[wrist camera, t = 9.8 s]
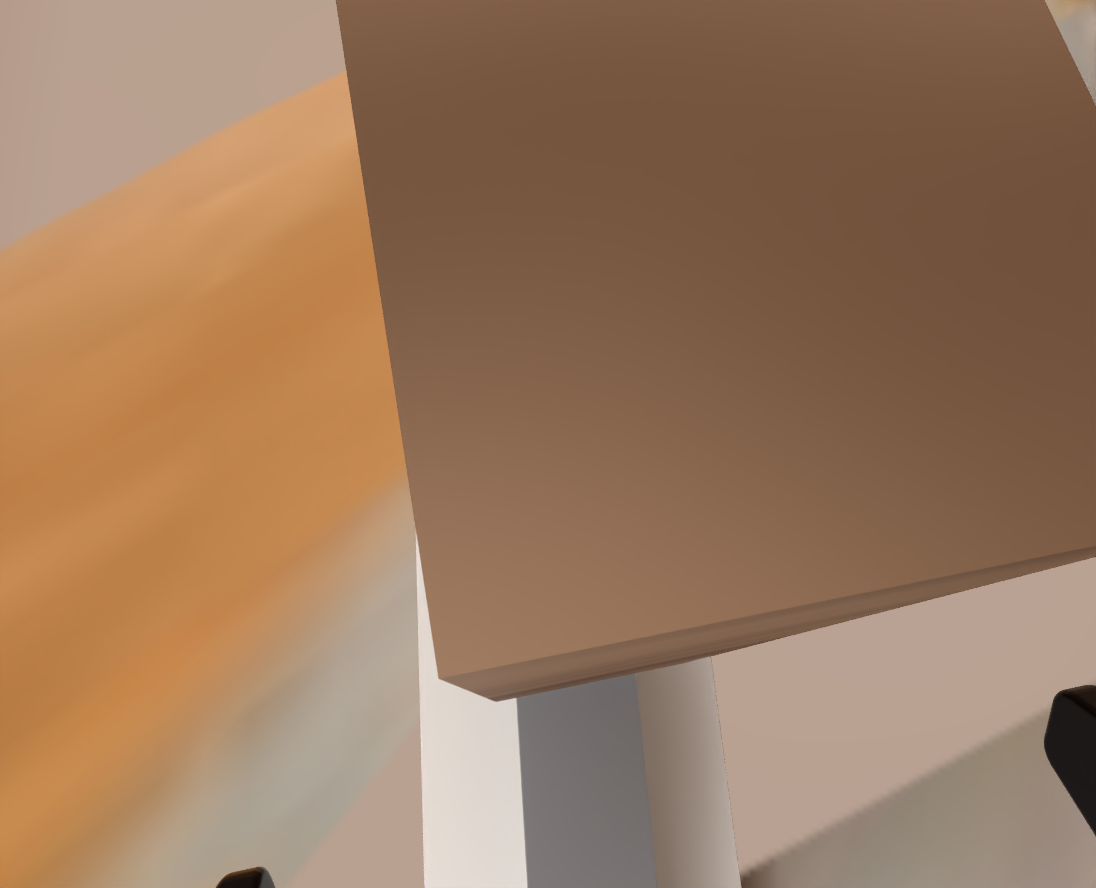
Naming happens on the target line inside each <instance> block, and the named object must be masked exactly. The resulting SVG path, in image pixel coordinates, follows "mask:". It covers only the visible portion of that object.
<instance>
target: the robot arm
mask: <svg viewBox="0 0 1096 888" xmlns="http://www.w3.org/2000/svg"><path fill="white" fill-rule="evenodd" d="M1044 748H1045V752H1046V755H1047V757H1048V760H1049V762H1050V764H1051V766H1052V767H1053V769H1054V770H1055V772H1056V774H1057V775H1058V777H1059V778H1060V780H1061V782H1062V783H1063V785H1064V786H1065V788H1066V789H1067V791H1068V793H1069V794H1070V796H1071V797H1072V799H1073V801H1074V802H1075V804H1076V805H1077V807H1078V809H1079V810H1080V812H1081V813H1082V815H1083V817H1084V818H1085V820H1086V821H1087V823H1088V825H1089V826H1090V828H1091V829H1092V831H1093V833H1094V834H1095V836H1096V686H1094V685H1084V686H1080V687H1075V688H1071V689H1066V690H1062V691H1060V692H1059V693H1057V694H1056V696H1055V697H1054V700H1053V704H1052V708H1051V712H1050V716H1049V720H1048V725H1047V729H1046V733H1045V737H1044ZM216 888H275V886H274V883H273V881H272V878H271V876H270V874H269V872H268V871H267V870H266V869H265V868H264V867H255V868H251V869H246V870H242V871H237V872H233V873H230V874H228V875H226V876H225V877H224V878H223V879H222V880H221V881H220V882H219V884H218V885H217V887H216Z"/></svg>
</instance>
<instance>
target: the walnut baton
mask: <svg viewBox="0 0 1096 888" xmlns="http://www.w3.org/2000/svg"><path fill="white" fill-rule="evenodd" d="M336 4H337V11H338V17H339V24H340V30H341V37H342V44H343V51H344V57H345V64H346V70H347V77H348V84H349V90H350V97H351V103H352V110H353V117H354V123H355V130H356V137H357V143H358V150H359V156H360V163H361V170H362V176H363V183H364V190H365V196H366V203H367V209H368V216H369V223H370V229H371V236H372V242H373V249H374V256H375V262H376V269H377V276H378V282H379V289H380V295H381V302H382V309H383V315H384V322H385V328H386V335H387V342H388V348H389V355H390V362H391V368H392V375H393V381H394V388H395V395H396V401H397V408H398V414H399V421H400V428H401V434H402V441H403V448H404V454H405V461H406V467H407V474H408V481H409V487H410V494H411V500H412V507H413V514H414V520H415V527H416V534H417V540H418V547H419V553H420V560H421V567H422V573H423V580H424V586H425V593H426V600H427V606H428V613H429V620H430V626H431V633H432V639H433V646H434V653H435V659H436V666H437V672H438V679H440V680H443V681H445V682H448V683H450V684H453V685H455V686H458V687H460V688H463V689H465V690H468V691H470V692H473V693H475V694H477V695H480V696H482V697H485V698H487V699H490V700H492V701H495V702H499V701H503V700H508V699H513V698H518V697H523V696H528V695H533V694H537V693H542V692H547V691H552V690H557V689H562V688H566V687H571V686H576V685H581V684H586V683H591V682H595V681H600V680H605V679H610V678H615V677H620V676H625V675H629V674H634V673H639V672H644V671H649V670H654V669H658V668H663V667H668V666H673V665H678V664H683V663H687V662H691V661H694V660H698V659H702V658H706V657H710V656H714V655H718V654H722V653H725V652H729V651H733V650H737V649H741V648H745V647H749V646H752V645H756V644H760V643H764V642H768V641H772V640H775V639H780V638H783V637H787V636H791V635H795V634H799V633H802V632H807V631H811V630H814V629H818V628H822V627H826V626H830V625H833V624H838V623H841V622H845V621H849V620H853V619H857V618H861V617H864V616H869V615H872V614H876V613H880V612H884V611H887V610H892V609H895V608H900V607H903V606H907V605H911V604H915V603H919V602H923V601H926V600H931V599H934V598H938V597H942V596H946V595H950V594H954V593H958V592H961V591H965V590H969V589H973V588H977V587H981V586H985V585H989V584H992V583H996V582H1000V581H1004V580H1008V579H1012V578H1016V577H1020V576H1023V575H1027V574H1031V573H1035V572H1039V571H1043V570H1047V569H1050V568H1054V567H1058V566H1062V565H1066V564H1070V563H1074V562H1077V561H1081V560H1085V559H1089V558H1093V557H1096V106H1095V103H1094V101H1093V99H1092V97H1091V95H1090V93H1089V91H1088V89H1087V87H1086V85H1085V83H1084V81H1083V79H1082V77H1081V75H1080V72H1079V70H1078V68H1077V66H1076V64H1075V62H1074V60H1073V58H1072V56H1071V54H1070V52H1069V50H1068V48H1067V46H1066V44H1065V42H1064V39H1063V37H1062V35H1061V33H1060V31H1059V29H1058V27H1057V25H1056V23H1055V21H1054V19H1053V17H1052V15H1051V13H1050V11H1049V9H1048V6H1047V4H1046V2H1045V0H336Z"/></svg>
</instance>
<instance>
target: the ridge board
mask: <svg viewBox="0 0 1096 888" xmlns="http://www.w3.org/2000/svg"><path fill="white" fill-rule="evenodd" d="M416 558H417V599H418V641H419V682H420V724H421V765H422V805H423V845H424V846H423V848H424V888H741V881H740V874H739V867H738V859H737V851H736V844H735V836H734V828H733V820H732V813H731V805H730V797H729V790H728V782H727V775H726V767H725V759H724V752H723V744H722V737H721V729H720V721H719V714H718V706H717V699H716V691H715V684H714V675H713V668H712V660H711V656H710V657H706V658H702V659H698V660H694V661H691V662H687V663H683V664H678V665H673V666H668V667H663V668H658V669H654V670H649V671H644V672H639V673H634V674H629V675H625V676H620V677H615V678H610V679H605V680H600V681H595V682H591V683H586V684H581V685H576V686H571V687H566V688H562V689H557V690H552V691H547V692H542V693H537V694H533V695H528V696H523V697H518V698H513V699H508V700H503V701H499V702H495V701H492V700H490V699H487V698H485V697H482V696H480V695H477V694H475V693H473V692H470V691H468V690H465V689H463V688H460V687H458V686H455V685H453V684H450V683H448V682H445V681H443V680H440V679H438V672H437V666H436V659H435V653H434V646H433V639H432V633H431V626H430V620H429V613H428V606H427V600H426V593H425V586H424V580H423V573H422V567H421V560H420V553H419V547H418V540H417V534H416Z"/></svg>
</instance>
